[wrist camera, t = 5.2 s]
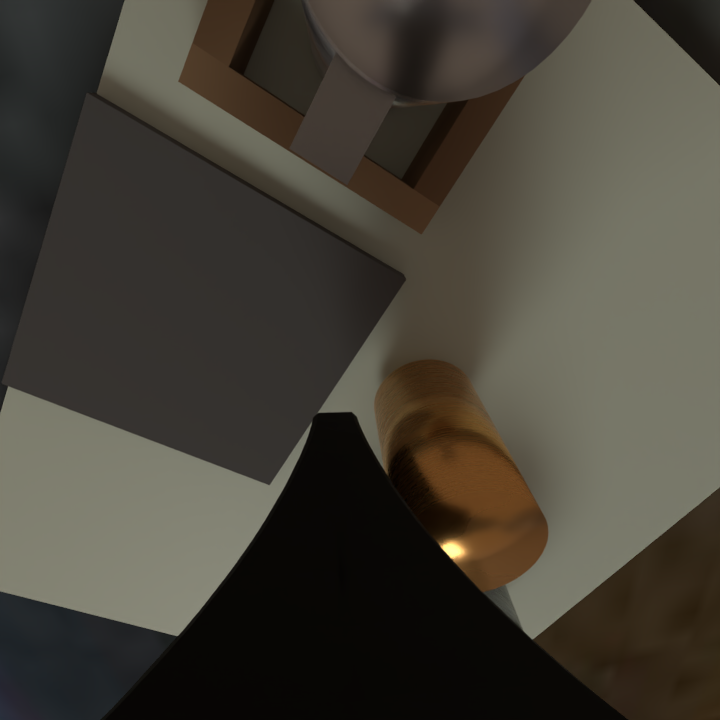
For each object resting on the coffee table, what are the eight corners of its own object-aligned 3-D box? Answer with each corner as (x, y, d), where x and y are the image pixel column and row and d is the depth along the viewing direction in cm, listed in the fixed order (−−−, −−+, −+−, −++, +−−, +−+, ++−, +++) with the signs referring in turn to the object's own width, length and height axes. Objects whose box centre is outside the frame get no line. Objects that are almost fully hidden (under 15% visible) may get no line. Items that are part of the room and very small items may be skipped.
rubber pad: (403, 274, 11) (406, 279, 10) (271, 475, 13) (269, 485, 13) (96, 93, 8) (86, 92, 8) (11, 375, 11) (1, 383, 11)
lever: (463, 536, 14) (515, 694, 10) (380, 543, 14) (401, 706, 10) (477, 355, 11) (559, 483, 7) (371, 363, 11) (396, 498, 7)
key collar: (556, -16, 8) (601, -42, 7) (408, 219, 10) (421, 234, 9) (323, -234, 7) (324, -317, 5) (200, 87, 9) (178, 81, 7)
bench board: (908, 295, 13) (941, 305, 12) (447, 685, 21) (451, 705, 20) (249, -336, 7) (241, -387, 6) (-32, 556, 15) (-50, 578, 14)
